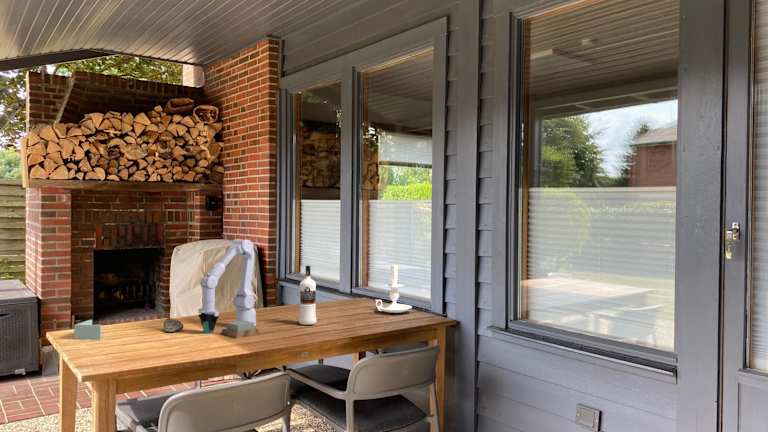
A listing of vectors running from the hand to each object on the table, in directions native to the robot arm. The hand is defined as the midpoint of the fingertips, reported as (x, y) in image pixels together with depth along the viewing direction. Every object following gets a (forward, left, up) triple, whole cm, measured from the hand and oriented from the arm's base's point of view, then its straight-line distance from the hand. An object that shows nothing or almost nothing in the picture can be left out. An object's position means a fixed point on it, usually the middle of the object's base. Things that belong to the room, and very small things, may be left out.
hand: (208, 329), depth 276 cm
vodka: (-47, +18, -2) cm, 50 cm away
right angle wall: (+42, -26, -2) cm, 49 cm away
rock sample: (+14, -12, -2) cm, 19 cm away
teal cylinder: (0, 0, -1) cm, 1 cm away
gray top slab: (-8, +14, +1) cm, 16 cm away
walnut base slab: (-8, +14, -2) cm, 16 cm away
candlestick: (-101, +30, -2) cm, 105 cm away
